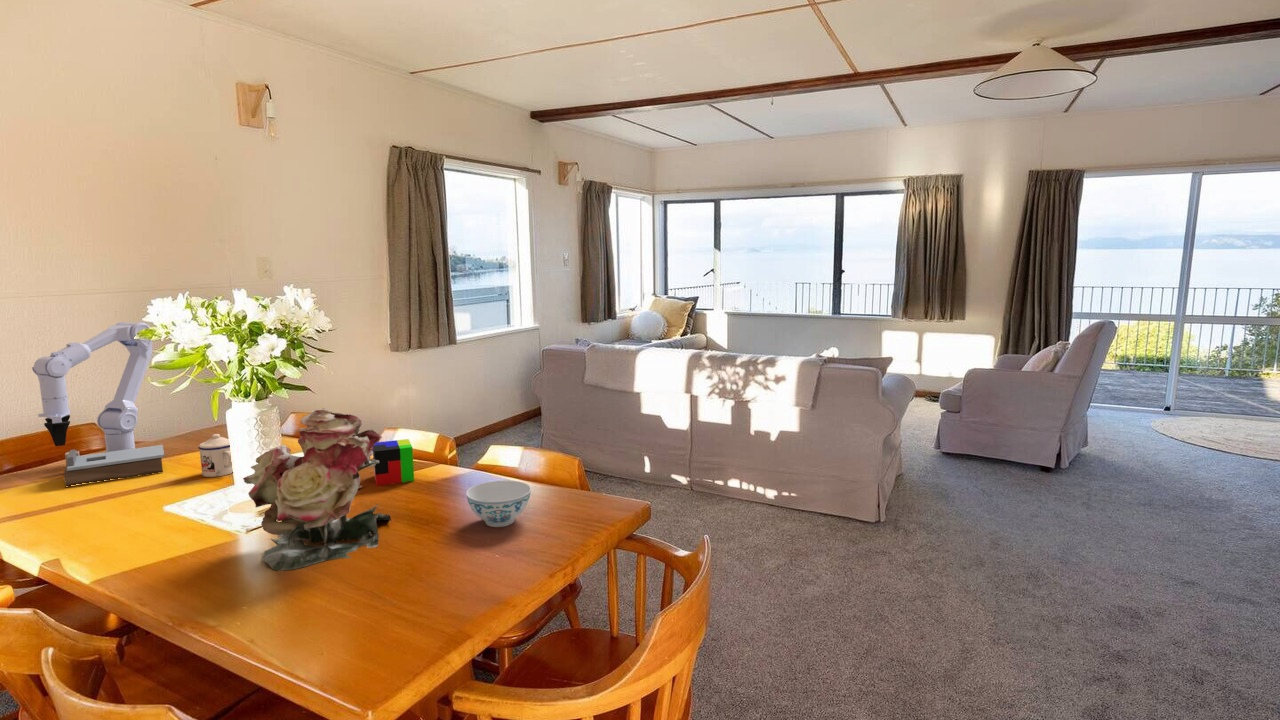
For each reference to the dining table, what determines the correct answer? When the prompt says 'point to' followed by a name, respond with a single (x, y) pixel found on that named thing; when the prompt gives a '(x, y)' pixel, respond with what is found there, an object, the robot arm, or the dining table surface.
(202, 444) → the teacup with lid
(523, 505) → the chinaware
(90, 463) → the toolbox lid
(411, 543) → the dining table surface
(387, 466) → the puzzle toy
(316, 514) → the rose bouquet
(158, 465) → the toolbox
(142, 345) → the robot arm
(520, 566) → the dining table surface
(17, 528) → the dining table surface
